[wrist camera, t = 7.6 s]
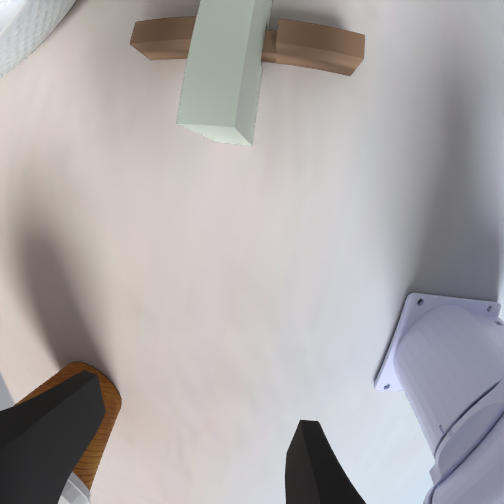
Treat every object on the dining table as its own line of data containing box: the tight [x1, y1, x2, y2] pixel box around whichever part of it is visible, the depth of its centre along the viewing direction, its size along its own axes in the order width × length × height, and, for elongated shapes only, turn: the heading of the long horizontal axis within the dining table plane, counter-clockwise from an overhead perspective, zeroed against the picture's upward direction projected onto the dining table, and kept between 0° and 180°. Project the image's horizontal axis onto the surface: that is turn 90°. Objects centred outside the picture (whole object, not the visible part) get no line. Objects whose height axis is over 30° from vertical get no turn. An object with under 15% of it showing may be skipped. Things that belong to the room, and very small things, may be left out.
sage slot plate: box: [176, 0, 273, 146], centre depth 11 cm, size 12×2×7 cm, turn 173°
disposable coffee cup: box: [14, 362, 121, 504], centre depth 16 cm, size 10×10×12 cm
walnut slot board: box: [130, 16, 365, 76], centre depth 13 cm, size 12×2×3 cm, turn 83°
